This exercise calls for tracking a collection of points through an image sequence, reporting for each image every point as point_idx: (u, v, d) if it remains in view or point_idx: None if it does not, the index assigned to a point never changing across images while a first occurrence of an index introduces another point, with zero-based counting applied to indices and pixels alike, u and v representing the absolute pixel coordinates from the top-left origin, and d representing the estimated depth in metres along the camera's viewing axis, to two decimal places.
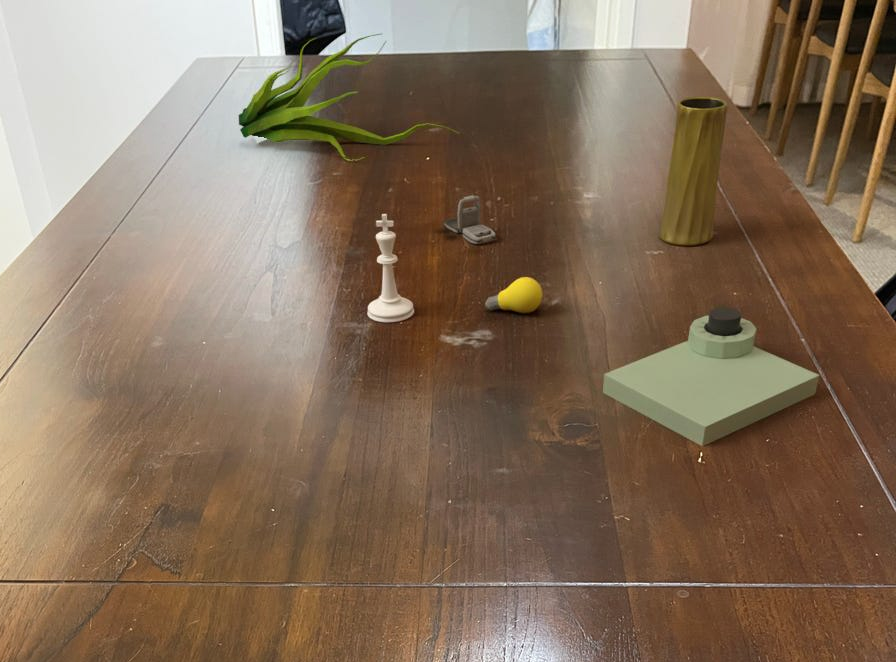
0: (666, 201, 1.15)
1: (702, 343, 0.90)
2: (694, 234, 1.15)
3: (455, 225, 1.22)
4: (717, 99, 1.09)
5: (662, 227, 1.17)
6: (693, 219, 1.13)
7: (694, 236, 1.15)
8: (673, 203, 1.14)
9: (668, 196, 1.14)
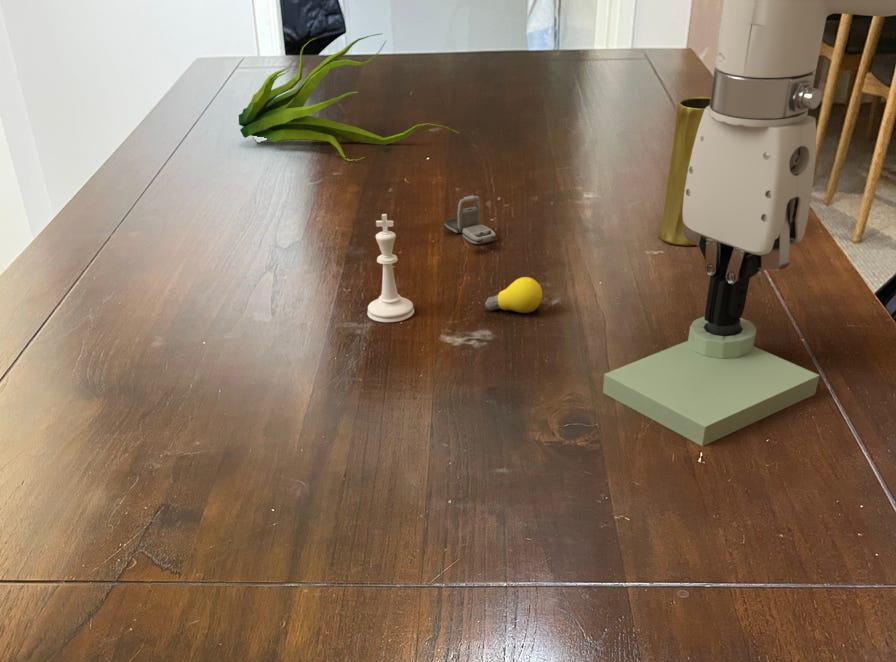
0: (666, 201, 1.15)
1: (702, 343, 0.90)
2: None
3: (455, 225, 1.22)
4: None
5: (662, 227, 1.17)
6: None
7: None
8: (673, 203, 1.14)
9: (669, 196, 1.14)
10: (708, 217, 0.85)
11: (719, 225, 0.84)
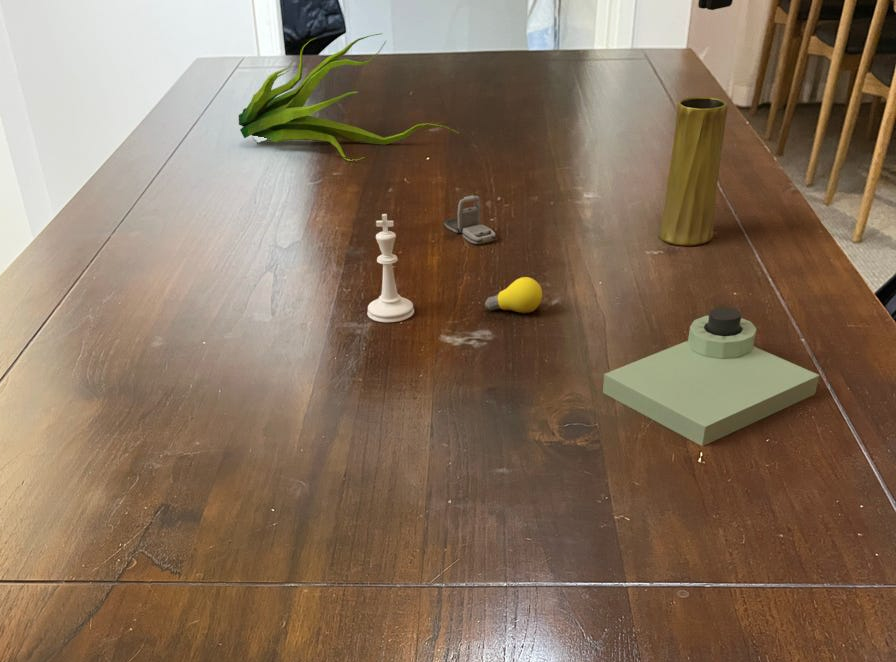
0: (666, 201, 1.15)
1: (702, 343, 0.90)
2: (694, 234, 1.15)
3: (455, 225, 1.22)
4: (717, 99, 1.09)
5: (662, 227, 1.17)
6: (693, 219, 1.13)
7: (694, 236, 1.15)
8: (673, 203, 1.14)
9: (669, 196, 1.14)
10: None
11: None
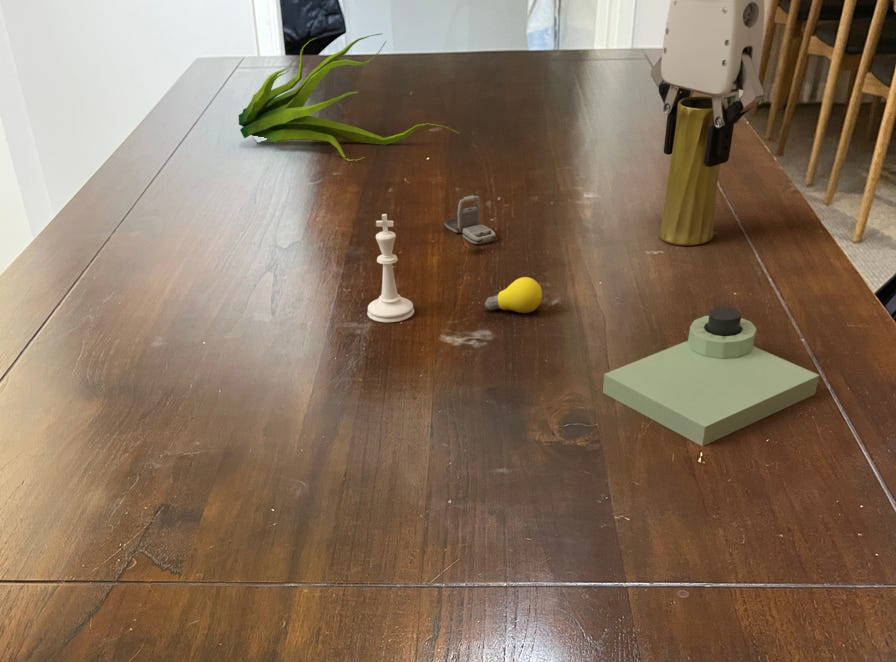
0: (666, 201, 1.15)
1: (702, 343, 0.90)
2: (694, 234, 1.15)
3: (455, 225, 1.22)
4: None
5: (662, 227, 1.17)
6: (693, 219, 1.13)
7: (694, 236, 1.15)
8: (673, 203, 1.14)
9: (668, 196, 1.14)
10: (681, 69, 1.06)
11: (690, 74, 1.05)
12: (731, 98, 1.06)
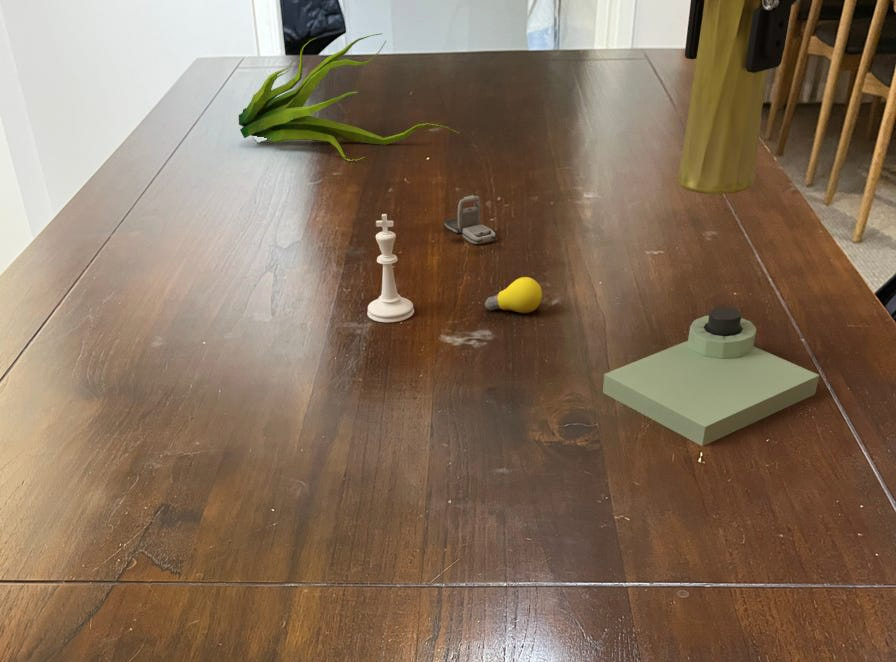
0: (688, 129, 0.79)
1: (702, 343, 0.90)
2: (728, 177, 0.79)
3: (455, 225, 1.22)
4: None
5: (681, 168, 0.81)
6: (727, 154, 0.78)
7: (728, 180, 0.79)
8: (698, 130, 0.78)
9: (691, 121, 0.78)
10: None
11: None
12: None
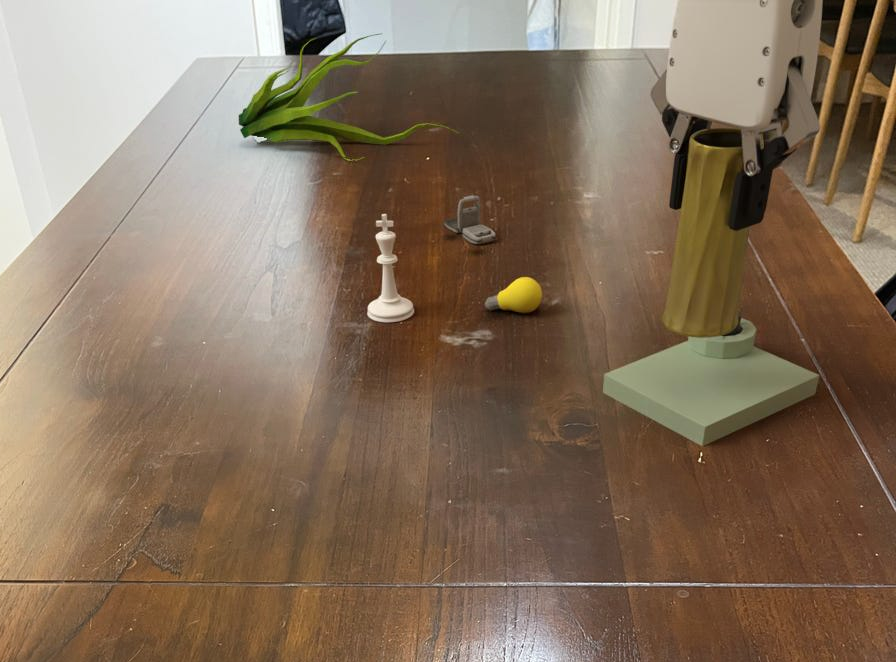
0: (672, 275, 0.81)
1: (702, 343, 0.90)
2: (712, 322, 0.81)
3: (455, 225, 1.22)
4: None
5: (667, 310, 0.83)
6: (711, 302, 0.79)
7: (712, 325, 0.81)
8: (682, 279, 0.80)
9: (676, 269, 0.80)
10: (695, 89, 0.72)
11: (708, 98, 0.71)
12: (769, 132, 0.72)
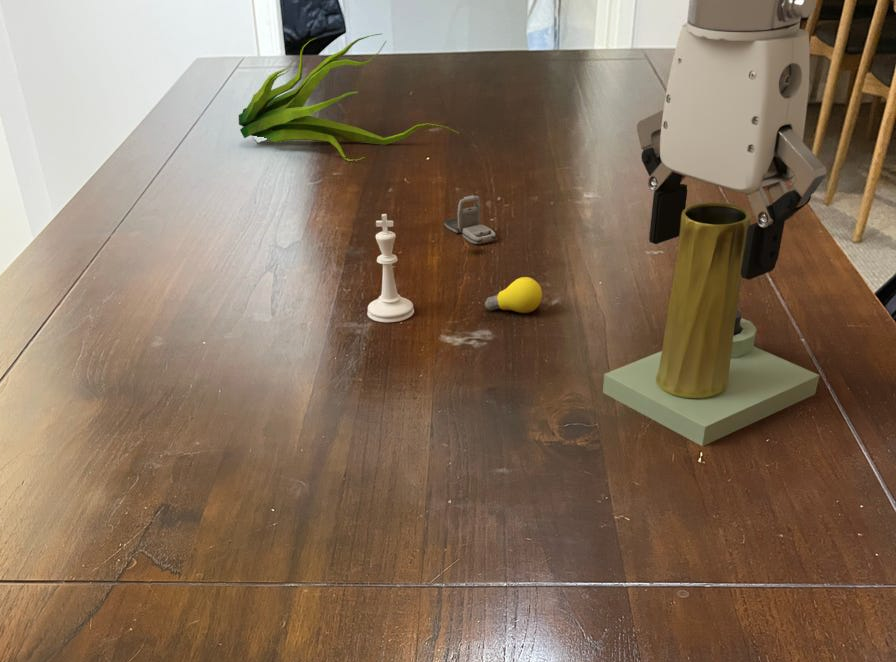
0: (665, 339, 0.84)
1: None
2: (704, 384, 0.84)
3: (455, 225, 1.22)
4: (736, 207, 0.79)
5: (660, 371, 0.86)
6: (702, 365, 0.83)
7: (704, 387, 0.84)
8: (675, 343, 0.83)
9: (669, 333, 0.83)
10: (688, 152, 0.75)
11: (701, 161, 0.74)
12: (774, 187, 0.73)
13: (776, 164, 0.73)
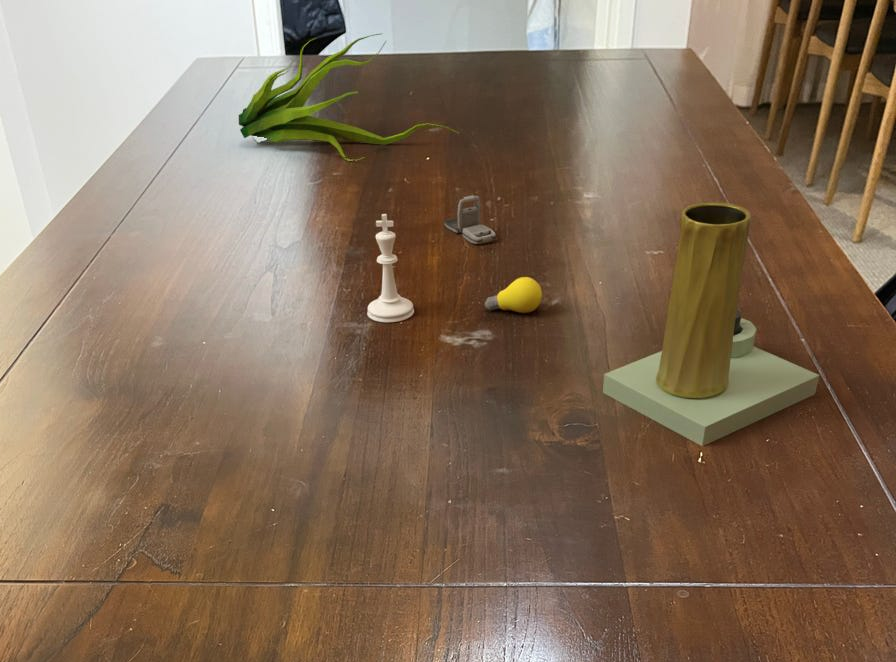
0: (665, 339, 0.84)
1: None
2: (704, 384, 0.84)
3: (455, 225, 1.22)
4: (736, 207, 0.79)
5: (660, 371, 0.86)
6: (702, 365, 0.83)
7: (704, 386, 0.84)
8: (675, 343, 0.83)
9: (669, 333, 0.83)
10: None
11: None
12: None
13: None
